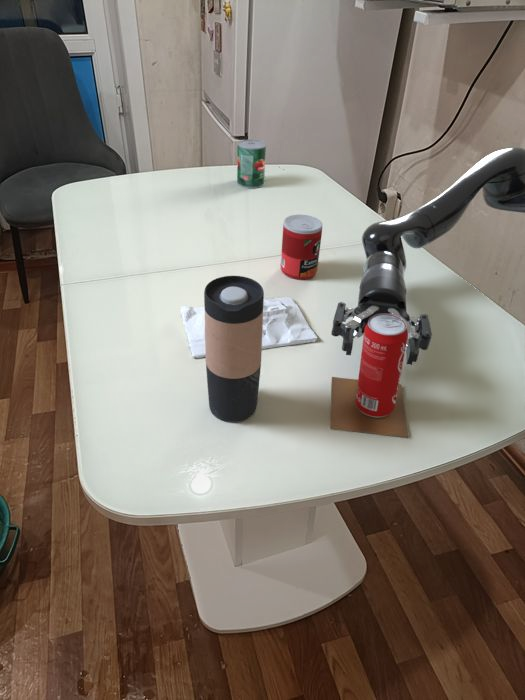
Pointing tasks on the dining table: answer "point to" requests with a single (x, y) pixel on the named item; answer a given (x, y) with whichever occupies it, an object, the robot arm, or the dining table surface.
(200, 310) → the terrain model
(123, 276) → the dining table surface
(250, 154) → the canned tomato
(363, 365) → the beverage can
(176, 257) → the dining table surface
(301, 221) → the canned food
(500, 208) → the robot arm
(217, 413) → the travel mug
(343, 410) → the cork mat
